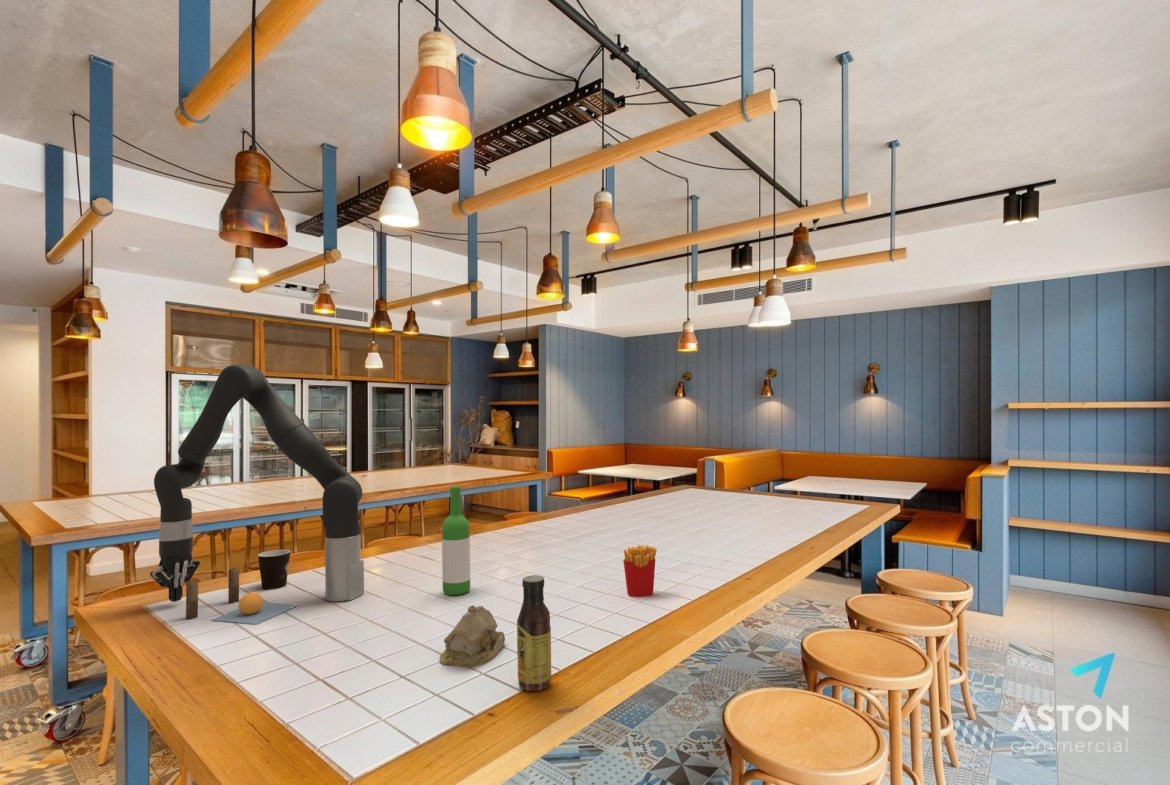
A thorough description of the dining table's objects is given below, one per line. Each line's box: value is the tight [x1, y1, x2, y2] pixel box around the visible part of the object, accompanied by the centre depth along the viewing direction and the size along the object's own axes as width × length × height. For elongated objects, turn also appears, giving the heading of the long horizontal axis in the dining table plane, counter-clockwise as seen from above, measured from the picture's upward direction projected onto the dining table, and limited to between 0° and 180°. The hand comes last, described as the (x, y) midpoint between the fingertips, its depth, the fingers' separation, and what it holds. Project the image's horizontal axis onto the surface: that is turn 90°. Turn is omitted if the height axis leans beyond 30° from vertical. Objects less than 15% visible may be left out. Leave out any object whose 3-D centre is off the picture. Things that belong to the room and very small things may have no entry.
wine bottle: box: [441, 485, 471, 596], centre depth 161 cm, size 8×8×30 cm
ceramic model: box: [439, 605, 506, 668], centre depth 119 cm, size 14×11×10 cm
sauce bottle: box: [516, 574, 552, 692], centre depth 104 cm, size 6×6×20 cm
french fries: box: [622, 544, 657, 598], centre depth 156 cm, size 9×4×13 cm, turn 100°
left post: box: [185, 580, 199, 620], centre depth 144 cm, size 2×2×9 cm
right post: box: [227, 567, 240, 604], centre depth 156 cm, size 2×2×9 cm
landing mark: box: [211, 601, 299, 625], centre depth 147 cm, size 14×14×1 cm
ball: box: [238, 591, 264, 615], centre depth 146 cm, size 6×6×6 cm
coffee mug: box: [257, 549, 291, 591], centre depth 172 cm, size 12×9×10 cm
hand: (175, 600), depth 154 cm, fingers closed
